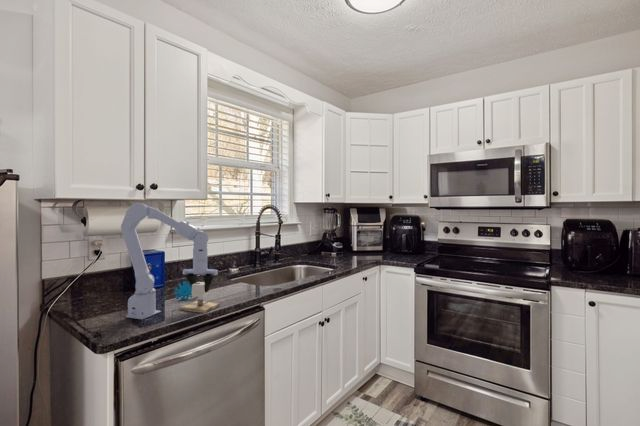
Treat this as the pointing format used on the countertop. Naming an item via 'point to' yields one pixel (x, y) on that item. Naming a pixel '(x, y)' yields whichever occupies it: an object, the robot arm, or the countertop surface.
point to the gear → (184, 291)
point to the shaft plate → (200, 306)
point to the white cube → (199, 289)
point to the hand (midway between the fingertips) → (200, 291)
